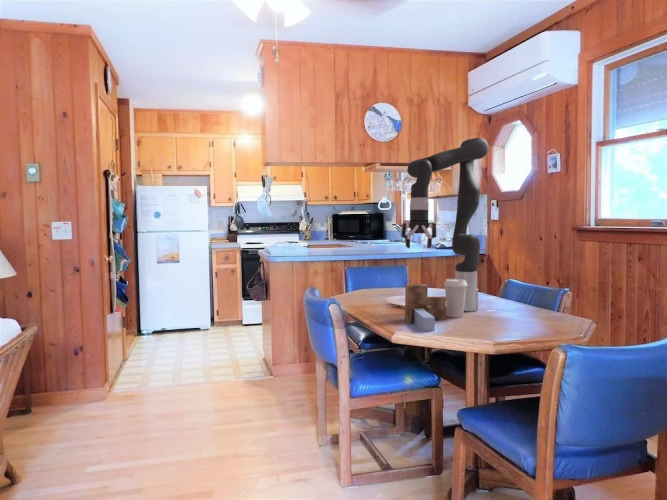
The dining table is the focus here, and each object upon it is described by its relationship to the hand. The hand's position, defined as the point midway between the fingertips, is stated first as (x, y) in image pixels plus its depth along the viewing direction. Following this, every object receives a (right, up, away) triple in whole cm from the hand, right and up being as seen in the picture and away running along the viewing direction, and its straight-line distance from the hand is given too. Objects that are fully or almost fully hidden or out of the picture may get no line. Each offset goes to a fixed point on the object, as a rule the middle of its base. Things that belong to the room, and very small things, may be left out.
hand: (418, 248), depth 206 cm
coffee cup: (+15, -28, 0) cm, 32 cm away
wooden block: (+1, -29, -9) cm, 30 cm away
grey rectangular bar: (-1, -30, -18) cm, 35 cm away
